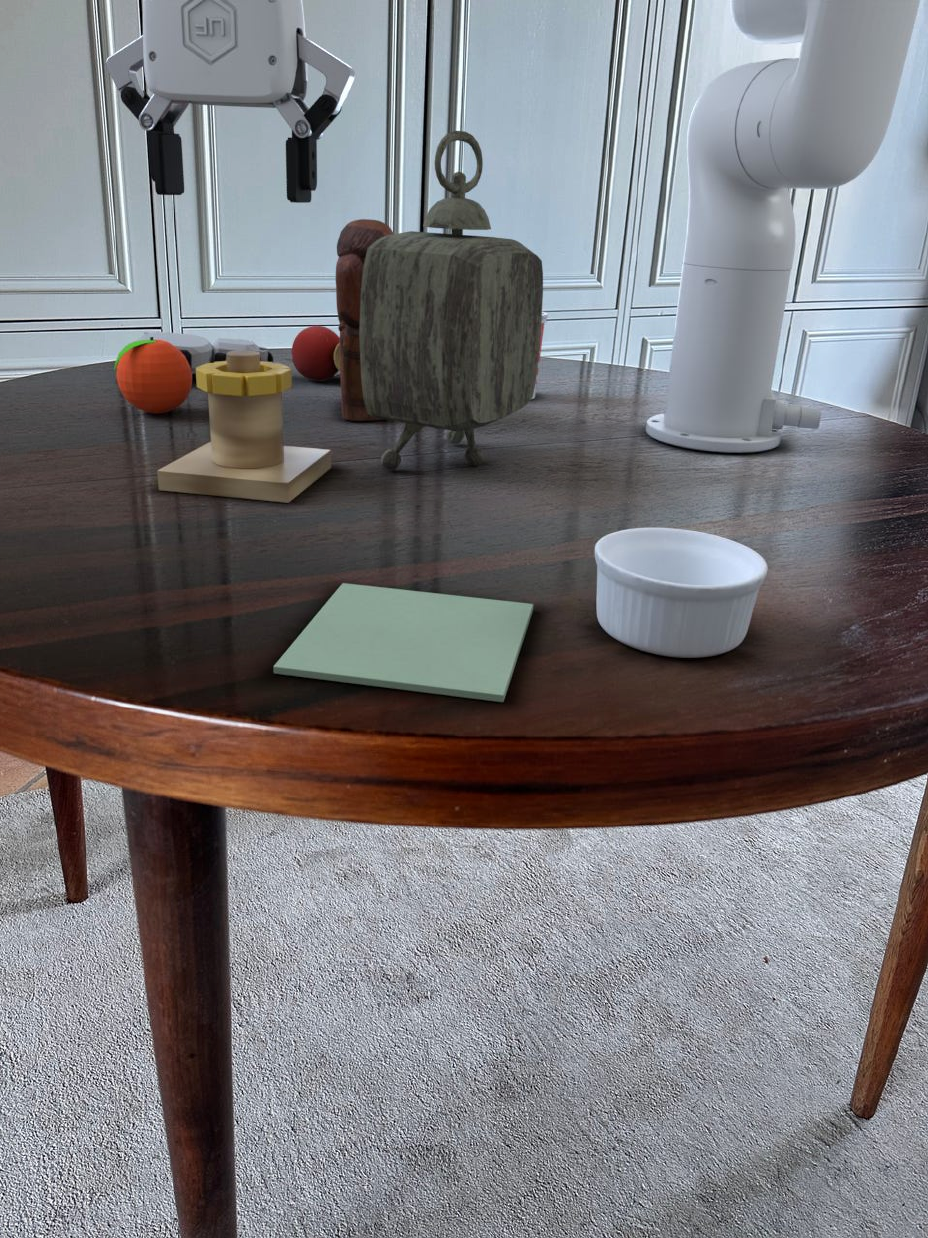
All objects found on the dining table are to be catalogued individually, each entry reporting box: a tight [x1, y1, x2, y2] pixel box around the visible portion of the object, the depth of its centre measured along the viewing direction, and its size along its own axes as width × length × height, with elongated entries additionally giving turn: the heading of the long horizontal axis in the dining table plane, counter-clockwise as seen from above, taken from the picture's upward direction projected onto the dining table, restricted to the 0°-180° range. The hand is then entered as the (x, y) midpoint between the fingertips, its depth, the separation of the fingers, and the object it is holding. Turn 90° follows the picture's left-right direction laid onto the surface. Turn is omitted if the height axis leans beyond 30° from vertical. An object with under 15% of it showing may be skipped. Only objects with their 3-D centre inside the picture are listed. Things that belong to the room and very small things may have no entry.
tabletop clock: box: [359, 130, 544, 471], centre depth 78 cm, size 14×9×25 cm, turn 152°
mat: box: [273, 582, 534, 703], centre depth 51 cm, size 11×11×1 cm
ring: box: [195, 361, 293, 396], centre depth 73 cm, size 7×7×1 cm
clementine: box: [113, 337, 193, 415], centre depth 94 cm, size 8×7×7 cm
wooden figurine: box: [335, 218, 395, 422], centre depth 97 cm, size 12×6×18 cm, turn 3°
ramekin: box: [594, 527, 769, 659], centre depth 52 cm, size 9×9×4 cm
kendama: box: [291, 325, 340, 382], centre depth 114 cm, size 8×6×18 cm
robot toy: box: [136, 331, 274, 375], centre depth 112 cm, size 12×4×15 cm
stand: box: [156, 350, 332, 504], centre depth 74 cm, size 10×10×10 cm
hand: (234, 198), depth 70 cm, fingers open, 9 cm apart
